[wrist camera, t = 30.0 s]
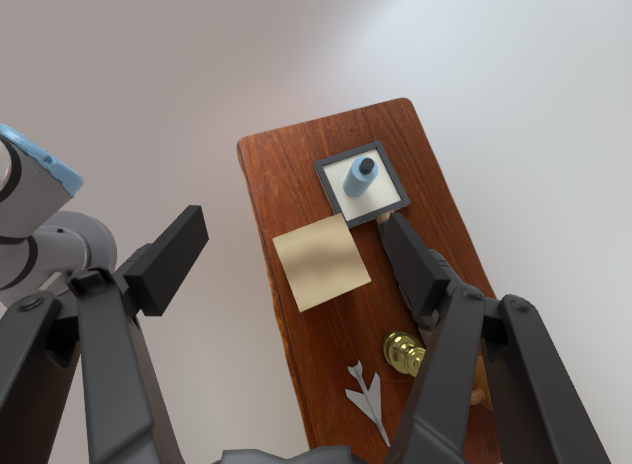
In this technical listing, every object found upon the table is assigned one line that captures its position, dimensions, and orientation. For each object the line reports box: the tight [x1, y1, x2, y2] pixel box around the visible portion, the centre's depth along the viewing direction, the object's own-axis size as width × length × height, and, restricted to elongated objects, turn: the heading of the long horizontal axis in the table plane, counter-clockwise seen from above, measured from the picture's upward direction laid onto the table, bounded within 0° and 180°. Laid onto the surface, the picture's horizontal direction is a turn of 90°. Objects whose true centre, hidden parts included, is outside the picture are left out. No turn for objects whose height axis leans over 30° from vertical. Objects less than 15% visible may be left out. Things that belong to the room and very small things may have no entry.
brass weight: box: [381, 330, 426, 377], centre depth 44 cm, size 7×7×10 cm
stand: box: [273, 213, 371, 312], centre depth 43 cm, size 12×12×16 cm
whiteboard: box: [313, 140, 411, 229], centre depth 55 cm, size 18×18×2 cm
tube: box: [376, 210, 439, 346], centre depth 48 cm, size 11×7×30 cm
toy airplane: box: [345, 361, 390, 447], centre depth 45 cm, size 8×21×2 cm, turn 24°
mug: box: [470, 356, 493, 412], centre depth 44 cm, size 13×8×10 cm, turn 97°
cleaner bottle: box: [343, 156, 378, 197], centre depth 49 cm, size 6×6×11 cm
